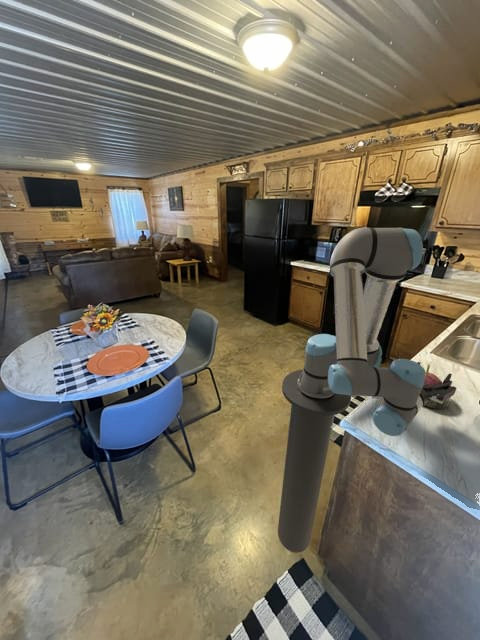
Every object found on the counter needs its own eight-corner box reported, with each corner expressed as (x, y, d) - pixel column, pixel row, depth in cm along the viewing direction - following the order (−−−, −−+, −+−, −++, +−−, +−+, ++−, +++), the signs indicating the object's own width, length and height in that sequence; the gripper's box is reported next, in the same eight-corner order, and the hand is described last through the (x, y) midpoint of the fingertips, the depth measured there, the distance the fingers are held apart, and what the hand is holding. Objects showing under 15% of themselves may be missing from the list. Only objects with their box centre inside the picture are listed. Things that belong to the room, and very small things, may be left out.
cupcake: (426, 403, 84) (438, 371, 80) (402, 387, 92) (411, 358, 87) (444, 396, 87) (455, 366, 83) (419, 382, 95) (429, 353, 90)
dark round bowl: (401, 396, 103) (404, 385, 101) (413, 382, 111) (416, 372, 109) (441, 415, 94) (445, 404, 92) (451, 399, 101) (456, 388, 100)
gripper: (369, 391, 85) (397, 367, 99) (447, 430, 70) (468, 395, 84) (374, 372, 82) (402, 349, 96) (457, 408, 67) (476, 375, 81)
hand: (433, 371), depth 90 cm, fingers closed on cupcake, 8 cm apart
